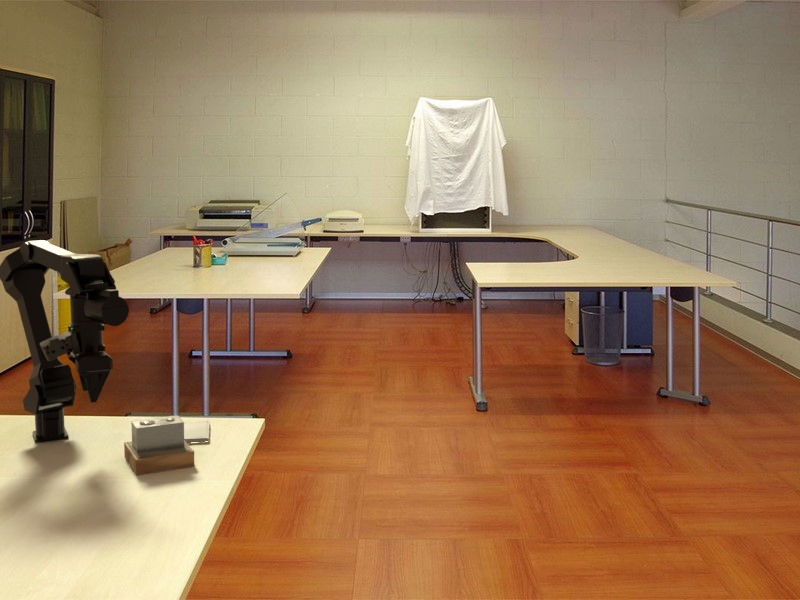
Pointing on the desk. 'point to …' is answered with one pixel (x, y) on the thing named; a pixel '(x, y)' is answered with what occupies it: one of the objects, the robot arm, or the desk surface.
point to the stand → (159, 459)
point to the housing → (157, 434)
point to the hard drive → (196, 431)
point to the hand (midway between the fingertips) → (89, 396)
